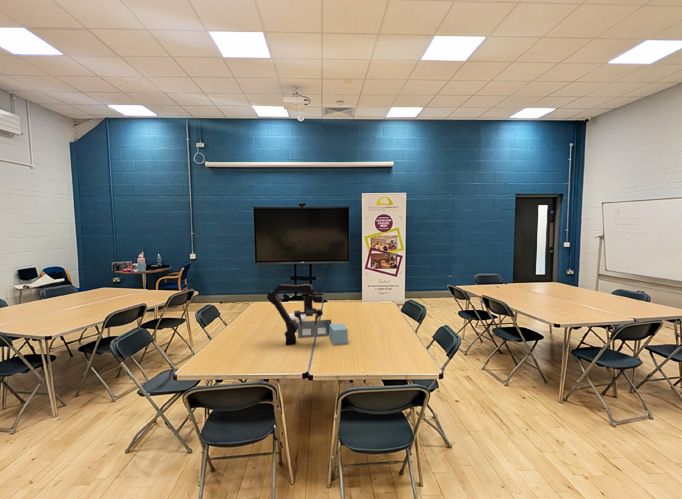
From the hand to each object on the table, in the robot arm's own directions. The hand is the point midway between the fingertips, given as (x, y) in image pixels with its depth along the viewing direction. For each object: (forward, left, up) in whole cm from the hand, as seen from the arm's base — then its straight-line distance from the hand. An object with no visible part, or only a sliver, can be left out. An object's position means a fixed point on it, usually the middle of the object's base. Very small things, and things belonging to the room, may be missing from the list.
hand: (308, 325), depth 211 cm
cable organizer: (-6, +32, -13) cm, 35 cm away
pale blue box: (+21, 0, -12) cm, 24 cm away
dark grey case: (+9, +5, -13) cm, 17 cm away
